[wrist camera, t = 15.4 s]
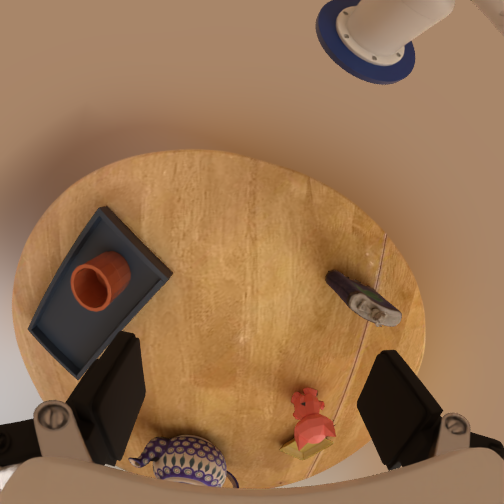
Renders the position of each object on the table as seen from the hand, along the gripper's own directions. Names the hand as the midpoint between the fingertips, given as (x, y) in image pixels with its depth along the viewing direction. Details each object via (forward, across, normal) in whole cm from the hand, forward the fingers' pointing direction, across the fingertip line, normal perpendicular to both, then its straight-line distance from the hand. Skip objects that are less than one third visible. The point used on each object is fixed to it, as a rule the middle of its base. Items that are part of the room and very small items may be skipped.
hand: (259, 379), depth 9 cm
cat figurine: (+28, -13, +27) cm, 41 cm away
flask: (+28, -16, +6) cm, 33 cm away
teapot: (+27, +7, +46) cm, 54 cm away
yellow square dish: (+28, -17, +42) cm, 53 cm away
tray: (+27, +24, +13) cm, 39 cm away
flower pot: (+27, +19, +7) cm, 34 cm away
